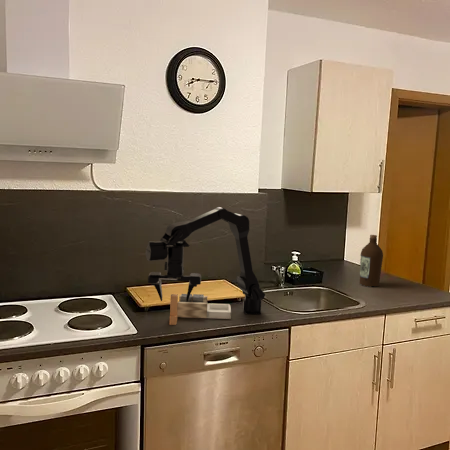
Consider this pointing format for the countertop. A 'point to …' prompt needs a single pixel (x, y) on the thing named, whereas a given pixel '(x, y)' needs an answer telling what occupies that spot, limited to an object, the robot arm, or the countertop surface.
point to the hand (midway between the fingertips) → (174, 301)
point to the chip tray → (219, 311)
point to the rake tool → (173, 309)
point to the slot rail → (192, 308)
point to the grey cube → (184, 296)
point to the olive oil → (371, 263)
